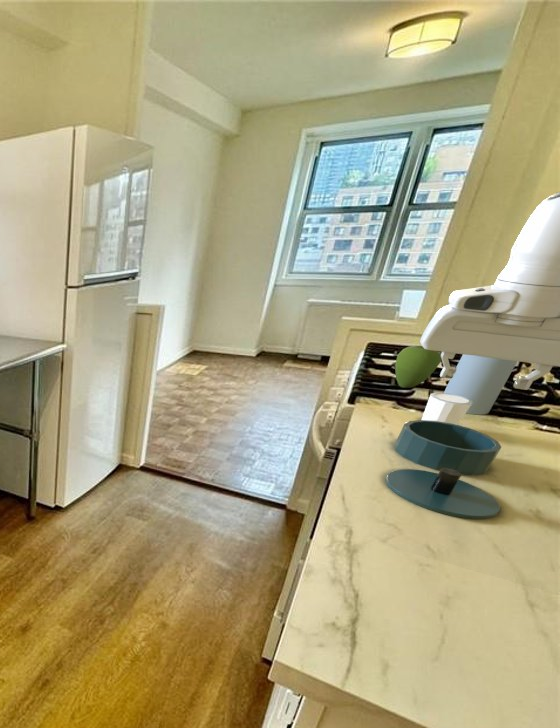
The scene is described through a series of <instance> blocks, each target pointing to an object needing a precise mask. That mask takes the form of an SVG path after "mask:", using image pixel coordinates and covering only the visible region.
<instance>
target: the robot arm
mask: <svg viewBox="0 0 560 728" xmlns="http://www.w3.org/2000/svg"><path fill="white" fill-rule="evenodd" d="M419 341H420V342H419V343H420V346H423V348H424V349H426V350H434V351H438V352H441V353H440V354H441V362H442V365H443V367H442V370H441V371H440V374H439V376H440V378H442V379H452V378H453V374H455V372H456V367H455V366H451V365H450V361H449V360H453V359H454V358H455V355H456V354H457V355H458V354H459V355H463V354H465V355H473V356H481V357H489V358H497V359H505V360H512V361H517V362H522V363H527V364H528V363H529V364H534V366H533V367H534V368H535V370H533V371H531V372H530V373H528V374H527V375H525V376H524V375H523V376H522V375H517V378H516V381H514V383H513V385H512V386H513V388H514V389H518V390H524V391H525V390H526V391H527V390H529V389H530V387H531V385H532V384H533V382H534V381H537V380H538V379H540V378H541V377H543V376H546V375H547V374H548V373H550V371H551V370H552V368H553V367H560V191H558V192H555V193H553V194H551V195H549V196H548V197H545V199H544V200H542V201H541V202H540V203H539V204H538V206H536V208H535V210H534V211H533V212H532V214H531V215H530V217H529V218H528V220H527V221H526V223H525V225H524V226H523V228H522V230H521V231H520V234H519V235H518V237H517V239H516V241H515V242H514V245H513V246H512V248H511V251H510V258H509V261H508V263H507V265H506V266H505V268H504V269H503V270H502V271H501V272H500V274H498V276H497V279H496V280H495V282H494V284H492V285H485V286H479V287H473V288H465V289H458V290H454V291H453V292H452V293H451V294H450V296H449V297H448V305H445V306H443V307H442V308H439V310H438V311H436V312H435V314H434V315H433V317H432V318H431V319H430V321H429V323H428V324H427V326H426V327H425V329H424V331H423V333H422V335H421V337H420V340H419Z"/></svg>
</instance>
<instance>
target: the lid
mask: <svg viewBox="0 0 560 728" xmlns="http://www.w3.org/2000/svg"><path fill="white" fill-rule="evenodd" d="M461 477H462V475H461V473H460V472H458V471H456V470H453V469H449V468H442V469H441V470H440V471H438V473H437V472H433V471H428V470H421V469H412V468H411V469H410V468H409V469H407V468H406V469H405V468H402V469H395V470H392V471H390V472H388V474H387V475H386V477H385V483H386V485H387V487H388V488H389V489H390V490H391V491H392V492H393V493H395V494H396V495H397V496H400V497H401V498H402V499H404V500H406V501H408V502H410V503H413V504H415V505H416V506H419V507H422V508H425V509H427V510H430V511H433V512H435V513H439V514H443V515H447V516H451V517H457V518H461V519H463V518H464V519H469V520H470V519H472V520H486V519H491V518H494V517H496V516H497V515H498V514H499V512H500V511H501V506H500V503H499V502H498V501H497V499H496V498H495V497H493V496H492V495H491V494H489V493H488V492H486V491H484V490H482V489H481V488H479V487H478V486H475V485H473V484H472V483H471V484H470V483H468V482H466V481H463V480H461V479H460V478H461Z"/></svg>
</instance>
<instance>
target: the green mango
mask: <svg viewBox="0 0 560 728" xmlns="http://www.w3.org/2000/svg"><path fill="white" fill-rule="evenodd" d="M441 362H442V358H441V353H440V351H434V350H426V349H424V348H423V346H422V345H409V346H407V347H405V348H403V349H402V350H401V351H400V352H399V353H398V354H397V357H396V360H395V363H394V368H395V369H394V370H395V379H396V381H397V385H398V386H399V387H400V388H403V389H404V388H405V389H411V388H414V387H416V386H418V385H420V384H422V383H423V382H425V381H426V380H427V379H428V378H429V377H431V375H432V374H433V373H434V372H435V371H436V369H437V368H438V366H440V364H441Z"/></svg>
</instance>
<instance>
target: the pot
mask: <svg viewBox="0 0 560 728" xmlns="http://www.w3.org/2000/svg"><path fill="white" fill-rule="evenodd" d="M393 448H394V451H395V452H396V453H397V454H398V455H400V456H401V457H402V458H404V459H406V460H408V461H410V462H412V463H414V464H416V465H419V466H422V467H425V468H427V469H431V470H434V471H438V472H440V470H441V469H442V468H449V469H453V470H456V471H458V472H460V473H461V476H480V475H484V474H486V472H488V471H489V469H490V467H491V466H492V464H493V462H494V460H495V459H496V457H497V456H498V454H499V453H500V451H501V449H502V445H501V443H500V442H499V441H498V440H496V439H495V438H494V437H492V436H489V435H488V434H486V433H484V432H481V431H479V430H476V429H474V428H470V427H467V426H463V425H459V424H458V425H456V424H451V423H445V422H439V421H429V420H422V419H417V420H408V421H407V422H405V423H404V424H403V426H402V428H401V430H400V433H399V435H398V436H397V438H396V440H395V443H394V444H393Z"/></svg>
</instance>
